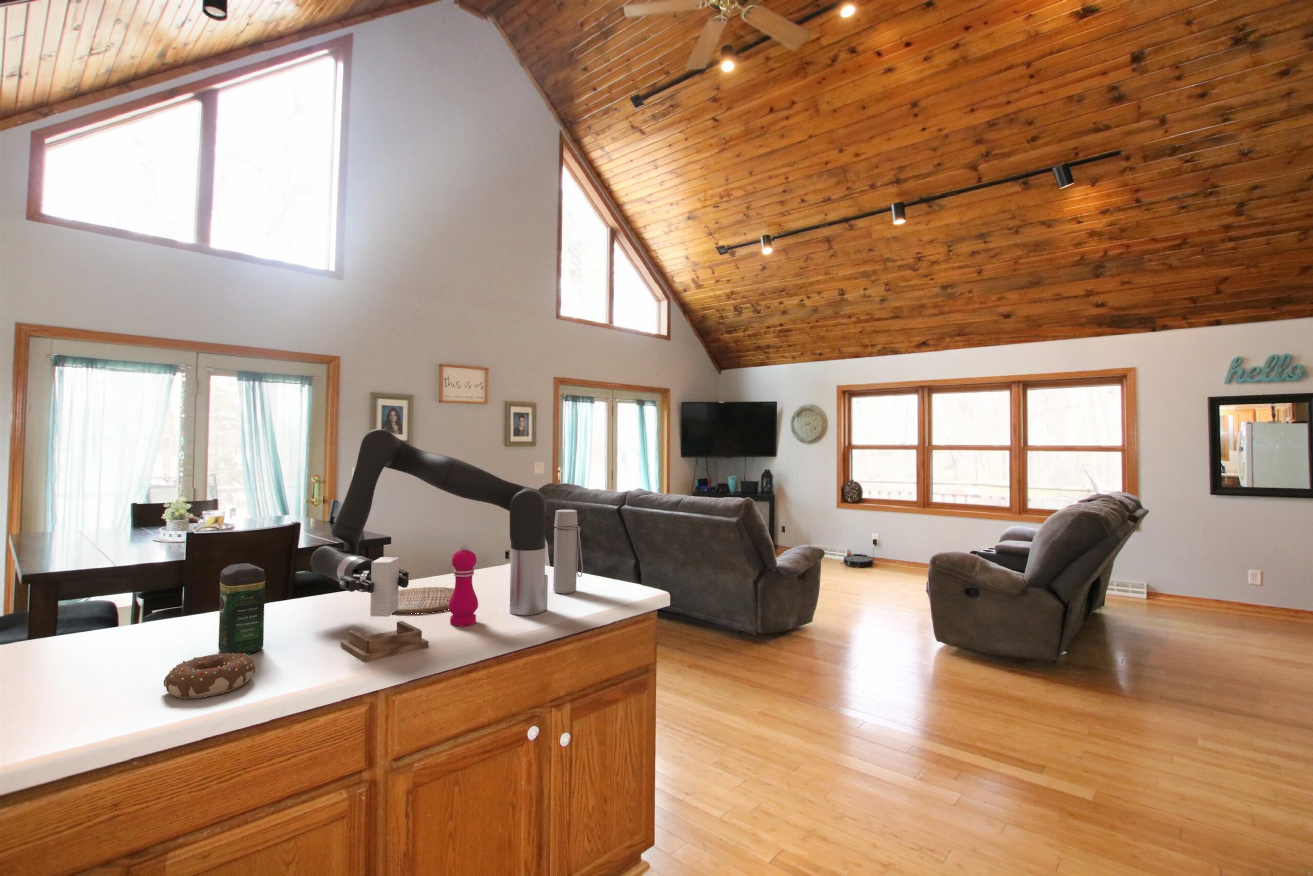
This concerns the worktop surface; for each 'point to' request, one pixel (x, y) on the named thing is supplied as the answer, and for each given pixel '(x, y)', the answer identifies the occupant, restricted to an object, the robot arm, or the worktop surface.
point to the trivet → (423, 600)
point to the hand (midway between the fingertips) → (389, 585)
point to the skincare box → (384, 586)
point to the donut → (209, 675)
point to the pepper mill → (463, 589)
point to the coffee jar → (241, 609)
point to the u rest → (385, 642)
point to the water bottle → (566, 551)
